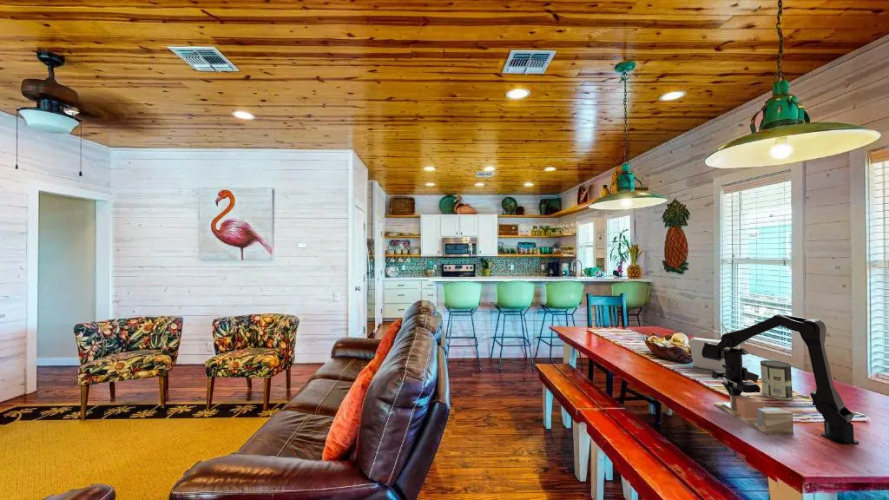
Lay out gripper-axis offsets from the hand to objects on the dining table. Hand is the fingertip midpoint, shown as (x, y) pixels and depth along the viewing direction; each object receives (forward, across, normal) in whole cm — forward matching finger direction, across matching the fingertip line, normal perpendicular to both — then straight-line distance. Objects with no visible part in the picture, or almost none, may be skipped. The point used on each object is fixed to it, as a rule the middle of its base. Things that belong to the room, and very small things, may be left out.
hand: (735, 402), depth 149 cm
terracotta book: (+2, -8, 0) cm, 8 cm away
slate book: (+3, -17, 0) cm, 17 cm away
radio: (+3, +52, -28) cm, 59 cm away
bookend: (+2, 0, 0) cm, 2 cm away
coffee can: (+3, +14, -28) cm, 31 cm away
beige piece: (+3, -8, 0) cm, 8 cm away
